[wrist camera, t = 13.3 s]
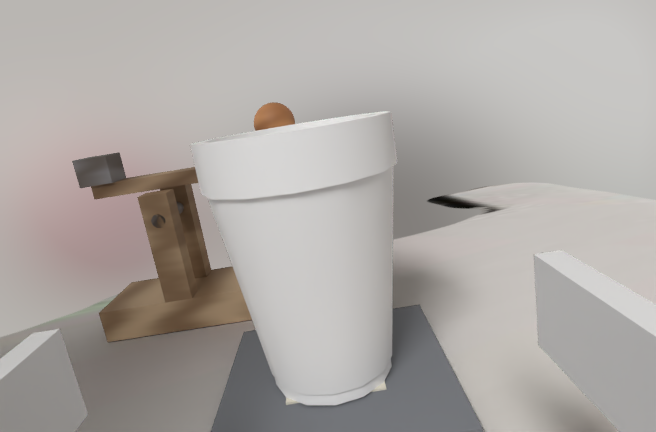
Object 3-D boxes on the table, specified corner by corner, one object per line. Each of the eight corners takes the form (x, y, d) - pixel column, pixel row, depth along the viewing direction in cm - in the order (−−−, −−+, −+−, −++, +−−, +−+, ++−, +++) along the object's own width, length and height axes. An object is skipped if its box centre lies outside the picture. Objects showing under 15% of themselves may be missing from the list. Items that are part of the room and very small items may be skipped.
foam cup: (342, 312, 31) (310, 120, 28) (457, 355, 24) (432, 105, 21) (216, 378, 25) (160, 148, 22) (318, 463, 18) (255, 139, 15)
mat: (200, 483, 19) (197, 469, 19) (245, 339, 31) (243, 330, 30) (484, 440, 19) (482, 426, 18) (420, 312, 30) (419, 303, 30)
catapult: (107, 342, 34) (45, 138, 30) (138, 307, 39) (89, 133, 36) (328, 307, 33) (292, 97, 30) (327, 278, 39) (296, 99, 36)
